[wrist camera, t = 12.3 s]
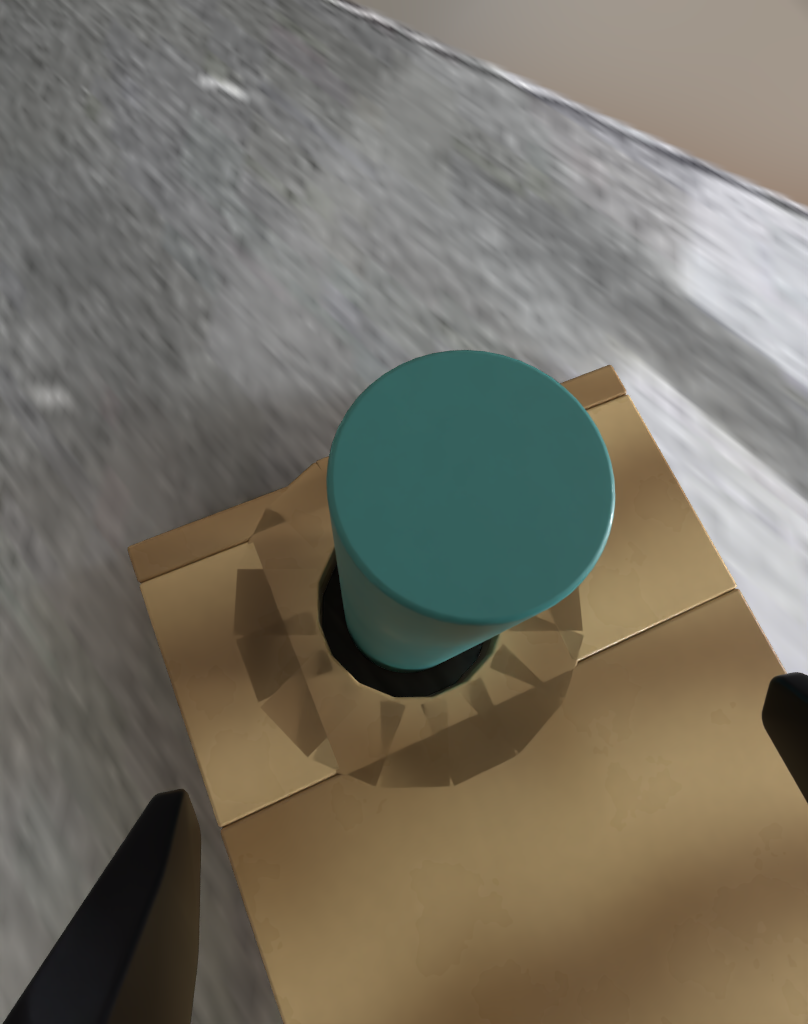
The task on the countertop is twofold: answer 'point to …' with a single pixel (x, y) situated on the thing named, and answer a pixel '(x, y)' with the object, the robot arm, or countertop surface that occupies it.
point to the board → (498, 777)
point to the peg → (462, 504)
